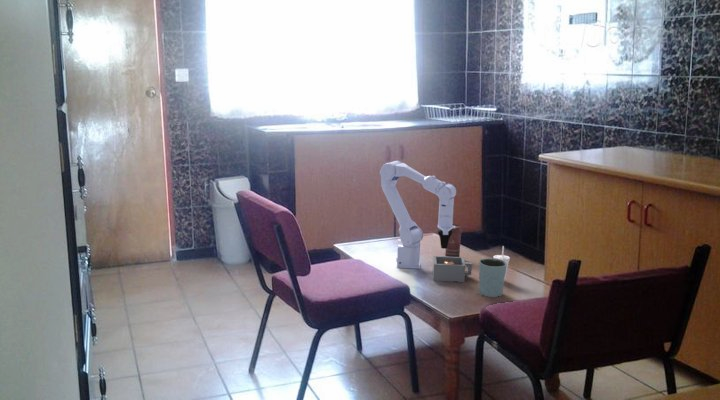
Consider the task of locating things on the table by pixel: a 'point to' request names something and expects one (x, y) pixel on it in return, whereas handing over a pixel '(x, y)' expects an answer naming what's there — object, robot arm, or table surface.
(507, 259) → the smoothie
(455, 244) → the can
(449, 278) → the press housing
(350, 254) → the table surface
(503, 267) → the teal plant pot
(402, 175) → the robot arm
